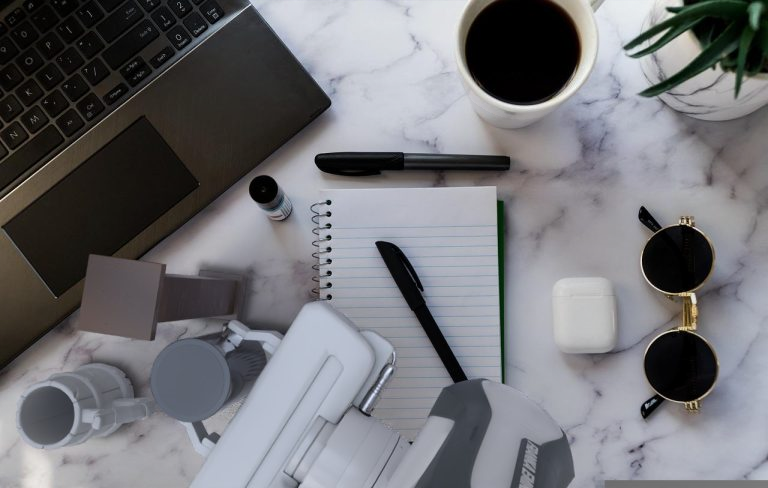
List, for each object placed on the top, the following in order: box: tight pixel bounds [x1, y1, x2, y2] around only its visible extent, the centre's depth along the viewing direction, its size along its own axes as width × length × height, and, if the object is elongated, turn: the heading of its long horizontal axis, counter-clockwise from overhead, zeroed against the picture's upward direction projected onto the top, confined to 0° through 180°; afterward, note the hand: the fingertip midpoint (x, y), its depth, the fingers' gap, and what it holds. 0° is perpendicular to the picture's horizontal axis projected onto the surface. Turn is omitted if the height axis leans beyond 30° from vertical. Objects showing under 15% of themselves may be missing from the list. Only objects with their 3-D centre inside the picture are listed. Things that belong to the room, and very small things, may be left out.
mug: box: [14, 362, 160, 451], centre depth 62 cm, size 8×12×12 cm, turn 89°
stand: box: [76, 253, 249, 342], centre depth 57 cm, size 6×6×22 cm
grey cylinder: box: [149, 330, 267, 423], centre depth 54 cm, size 6×6×10 cm
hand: (202, 366), depth 53 cm, fingers closed on grey cylinder, 6 cm apart
